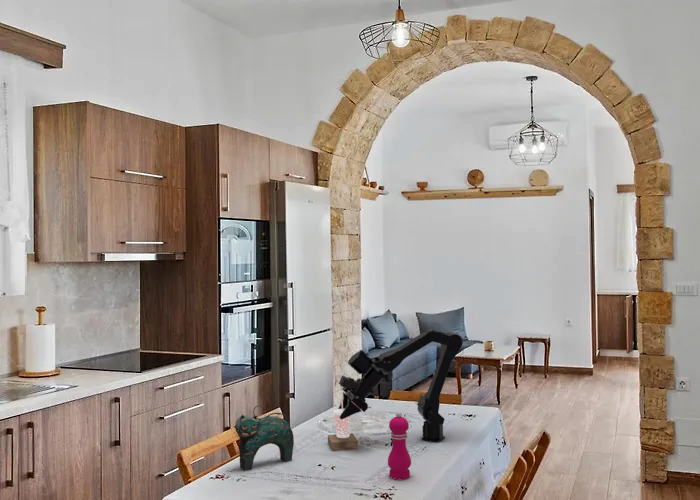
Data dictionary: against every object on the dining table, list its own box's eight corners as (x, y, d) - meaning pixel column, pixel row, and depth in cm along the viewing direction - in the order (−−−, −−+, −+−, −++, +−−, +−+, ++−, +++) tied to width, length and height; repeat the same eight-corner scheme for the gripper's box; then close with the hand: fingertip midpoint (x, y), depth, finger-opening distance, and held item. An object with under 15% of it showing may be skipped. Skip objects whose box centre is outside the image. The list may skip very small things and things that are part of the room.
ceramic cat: (240, 473, 229) (239, 410, 229) (232, 467, 235) (231, 406, 234) (296, 461, 240) (295, 401, 239) (287, 456, 245) (286, 397, 245)
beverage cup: (344, 439, 251) (343, 399, 250) (330, 436, 254) (329, 397, 254) (355, 435, 255) (354, 395, 255) (341, 432, 259) (340, 393, 259)
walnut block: (352, 441, 260) (352, 433, 260) (357, 449, 252) (357, 440, 251) (327, 443, 259) (327, 435, 259) (332, 451, 250) (332, 442, 250)
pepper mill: (413, 473, 226) (412, 409, 226) (408, 481, 219) (407, 415, 219) (391, 471, 229) (390, 408, 228) (385, 479, 222) (384, 414, 221)
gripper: (347, 362, 264) (318, 395, 262) (357, 373, 246) (326, 407, 244) (369, 382, 266) (340, 414, 264) (380, 394, 248) (350, 429, 246)
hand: (338, 416), depth 254 cm, fingers closed on beverage cup, 6 cm apart
